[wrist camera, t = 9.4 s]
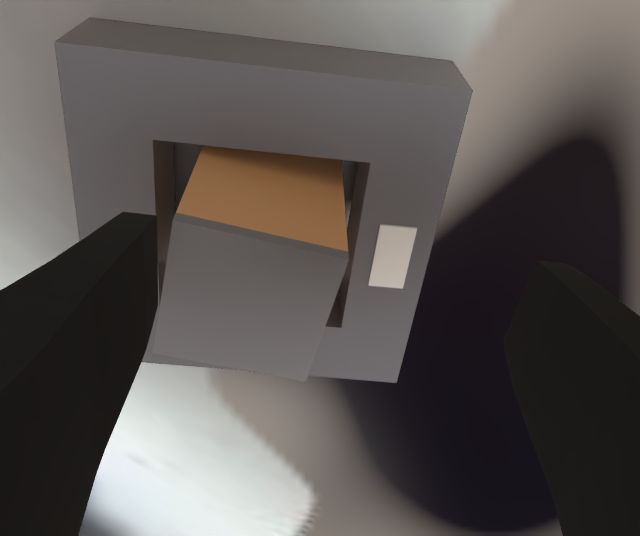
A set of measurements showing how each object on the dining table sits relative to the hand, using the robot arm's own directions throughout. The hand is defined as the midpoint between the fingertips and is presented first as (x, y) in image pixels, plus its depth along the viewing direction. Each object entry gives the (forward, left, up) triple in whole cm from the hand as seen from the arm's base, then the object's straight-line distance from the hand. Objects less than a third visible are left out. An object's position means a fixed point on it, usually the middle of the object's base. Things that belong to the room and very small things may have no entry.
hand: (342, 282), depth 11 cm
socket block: (-2, -4, -10) cm, 11 cm away
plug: (-2, -4, -10) cm, 11 cm away
